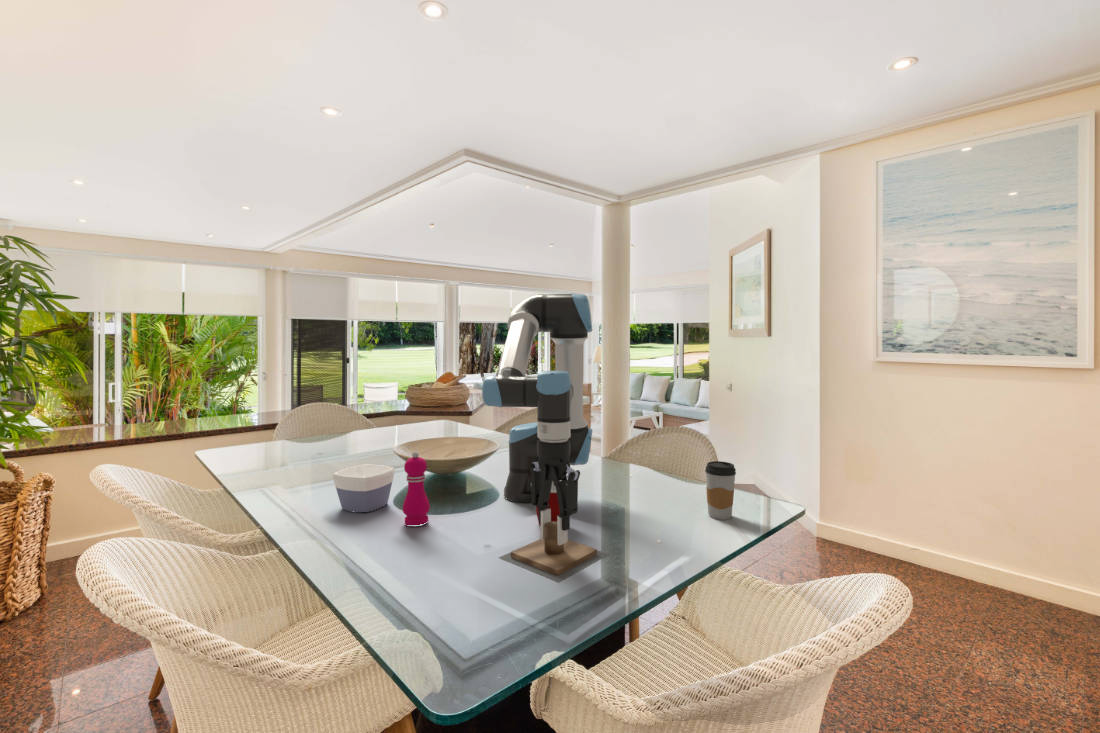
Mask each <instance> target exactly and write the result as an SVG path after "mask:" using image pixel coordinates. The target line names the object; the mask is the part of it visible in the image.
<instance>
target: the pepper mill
mask: <svg viewBox="0 0 1100 733" xmlns="http://www.w3.org/2000/svg"><path fill="white" fill-rule="evenodd" d="M411 456H412V457H410V458H408V459H406V461H405V463H404V466H403V467H404V471H405V473H406V474H407V475H406V477H405V478H406V482H407V484H408V485H407V486H408V487H407V493H406V495H405V499H404V501H403V505H402V512H403V514H404V515H405V517H404V525H405V524H406V525H420V524H424V523H426V522H427V521H428V522H429V515H428V512H429V511H430V508H431V507H430V504H431V503H430V501H429V499H428V495H427V493H426V492H425V485H424V484H425V480H426V474H425V472H426V471H427V468H428V464H427V461H426V460H425V459H424V458H423V457H420V456H419V452H418V451H414V452H412V454H411ZM406 525H405V526H406Z"/></svg>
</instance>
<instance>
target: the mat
mask: <svg viewBox="0 0 1100 733" xmlns="http://www.w3.org/2000/svg"><path fill="white" fill-rule="evenodd" d="M511 552H512V551H510V552H508V553H506V554H503V555H500V556H499V557H498V559H500V560H502V561H505V562H507V563H510V564H512V565H514V566H517V567H520V568H522V569H525V570H526V571H529V572H531V573H534V574H537V575H540V576H541V577H545V578H546V579H549V580H552V581H553V582H554V581H555V583H561V582H563V581H564V580H566V579H567V578H570V577H571V576H574V575H575V574H577V573H578V572H580V571H582V570H584V569H585V568H587V567H590V566H591V565H592V564H594V563H596V562H598V561H600V560H601V559H603V558H605V557H607V556H609V553H607V552H605V551H602V550H601V551H600V550H598V549H597V555H595V556H593V557H591V558H590V559H588V560H586V561H584V562H582V563H580V564H579V565H577V566H575V567H573V568H571V569H569V570H568V571H566V572H564V573H562V574H560V575H558V576H557V575H554V574H552V573H549V572H547V571H544V570H542V569H539V568H537V567H534V566H532V565H529V564H527V563H524V562H522V561H519V560H517V559H514V558H512V557H511Z"/></svg>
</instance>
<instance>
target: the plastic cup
mask: <svg viewBox="0 0 1100 733" xmlns="http://www.w3.org/2000/svg"><path fill="white" fill-rule="evenodd" d="M548 504H549V505H550V506H549V505H548V506H549V507H547V508H550V509H551V522H557V516H558V515H560V510H559V504H558V498H557V492H556V487H555V486H554V483H553V482H552V486H551V492H550V498H549V503H548ZM535 511H536V517H537V521H538V525H539V526H540V527H541V523H539V510H538V508H537V507H536V506H535Z"/></svg>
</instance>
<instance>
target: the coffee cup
mask: <svg viewBox="0 0 1100 733" xmlns="http://www.w3.org/2000/svg"><path fill="white" fill-rule="evenodd" d="M736 471H737V470H736V467H735V465H734V464H733V463H732V462H727V461H716V460H715V461H709V462H707V463H706V466H705V471H704V472H705V478H706V479H705V482H706V485H705V486H706V488H705V489H706V502H707V514H708V516H709V517H710V518H712V519H715V520H721V521H722V520H723V521H725V520H729V519H731V517H732V515H733V505H734V495H735V480H736V474H737V472H736Z"/></svg>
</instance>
